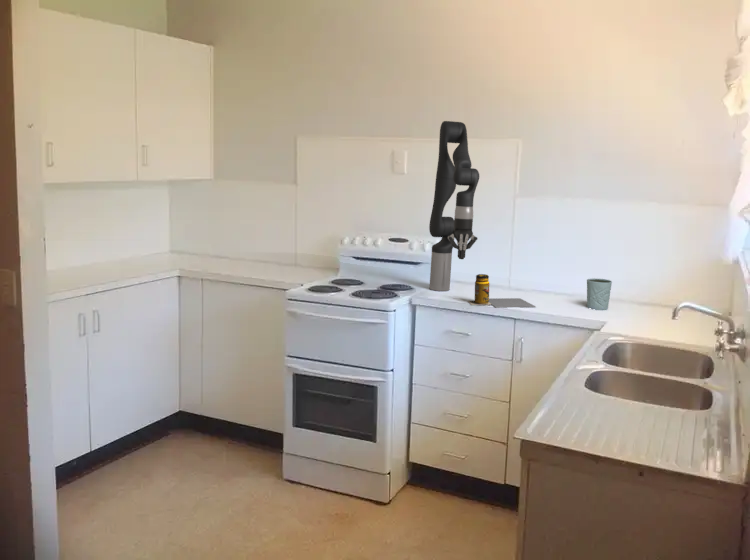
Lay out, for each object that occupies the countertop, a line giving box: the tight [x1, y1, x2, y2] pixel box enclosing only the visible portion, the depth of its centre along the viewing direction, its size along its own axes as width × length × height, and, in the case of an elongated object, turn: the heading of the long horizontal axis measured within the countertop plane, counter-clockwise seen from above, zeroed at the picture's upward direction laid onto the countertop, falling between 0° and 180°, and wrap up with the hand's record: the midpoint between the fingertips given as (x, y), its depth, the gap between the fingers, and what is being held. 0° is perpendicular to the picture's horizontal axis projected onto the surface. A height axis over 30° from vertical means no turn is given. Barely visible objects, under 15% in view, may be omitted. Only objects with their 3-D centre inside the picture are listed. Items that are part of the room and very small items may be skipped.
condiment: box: [467, 273, 491, 306], centre depth 319 cm, size 7×8×12 cm
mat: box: [489, 297, 537, 309], centre depth 323 cm, size 16×18×1 cm
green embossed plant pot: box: [586, 277, 613, 311], centre depth 320 cm, size 10×10×12 cm
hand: (461, 258), depth 314 cm, fingers closed
